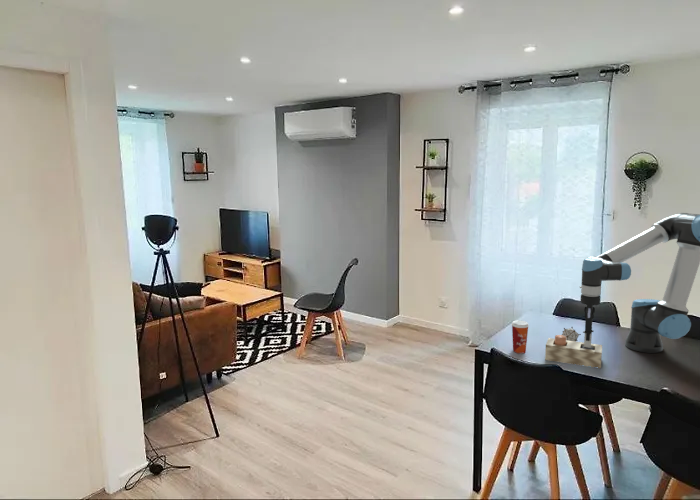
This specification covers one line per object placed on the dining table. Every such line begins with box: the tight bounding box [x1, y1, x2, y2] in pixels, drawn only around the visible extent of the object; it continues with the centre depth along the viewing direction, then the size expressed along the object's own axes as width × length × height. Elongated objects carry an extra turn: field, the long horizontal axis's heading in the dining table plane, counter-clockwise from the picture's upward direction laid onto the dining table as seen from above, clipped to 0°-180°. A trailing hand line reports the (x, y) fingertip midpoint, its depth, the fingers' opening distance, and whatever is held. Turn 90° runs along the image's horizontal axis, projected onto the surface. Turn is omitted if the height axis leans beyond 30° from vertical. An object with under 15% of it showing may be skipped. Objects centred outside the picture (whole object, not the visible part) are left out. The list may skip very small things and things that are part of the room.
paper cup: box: [510, 319, 530, 354], centre depth 219 cm, size 8×8×14 cm
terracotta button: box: [554, 334, 566, 346], centre depth 209 cm, size 5×5×6 cm
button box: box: [544, 337, 603, 369], centre depth 207 cm, size 22×10×7 cm, turn 61°
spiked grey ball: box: [561, 326, 581, 342], centre depth 227 cm, size 9×8×10 cm
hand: (587, 346), depth 204 cm, fingers closed
